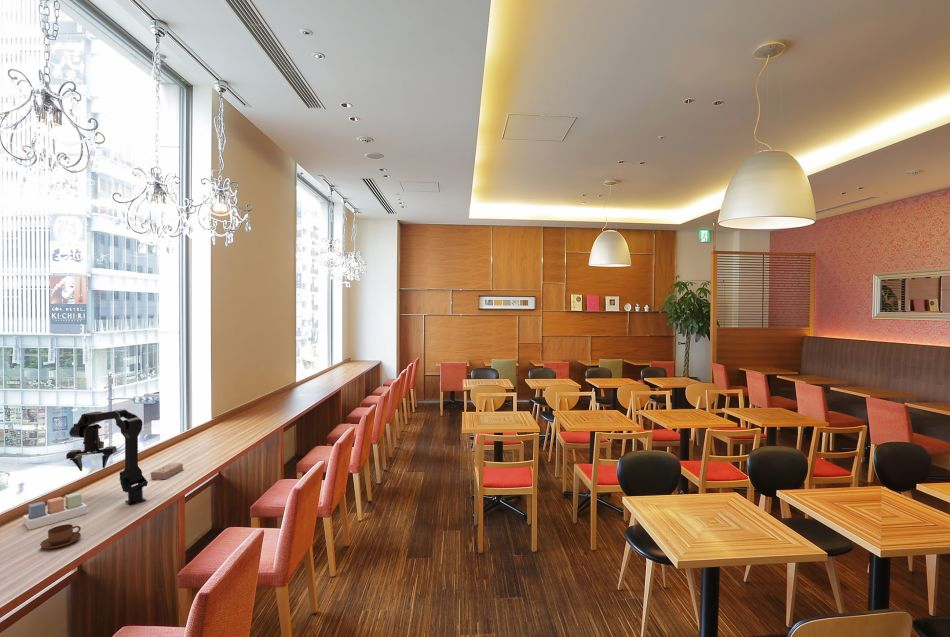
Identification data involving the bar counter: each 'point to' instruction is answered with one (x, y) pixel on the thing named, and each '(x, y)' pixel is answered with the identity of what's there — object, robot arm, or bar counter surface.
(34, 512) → the blue block
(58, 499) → the block terracotta
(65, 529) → the cup and saucer
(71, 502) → the block sage
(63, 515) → the socket board
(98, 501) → the bar counter surface
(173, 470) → the brick
